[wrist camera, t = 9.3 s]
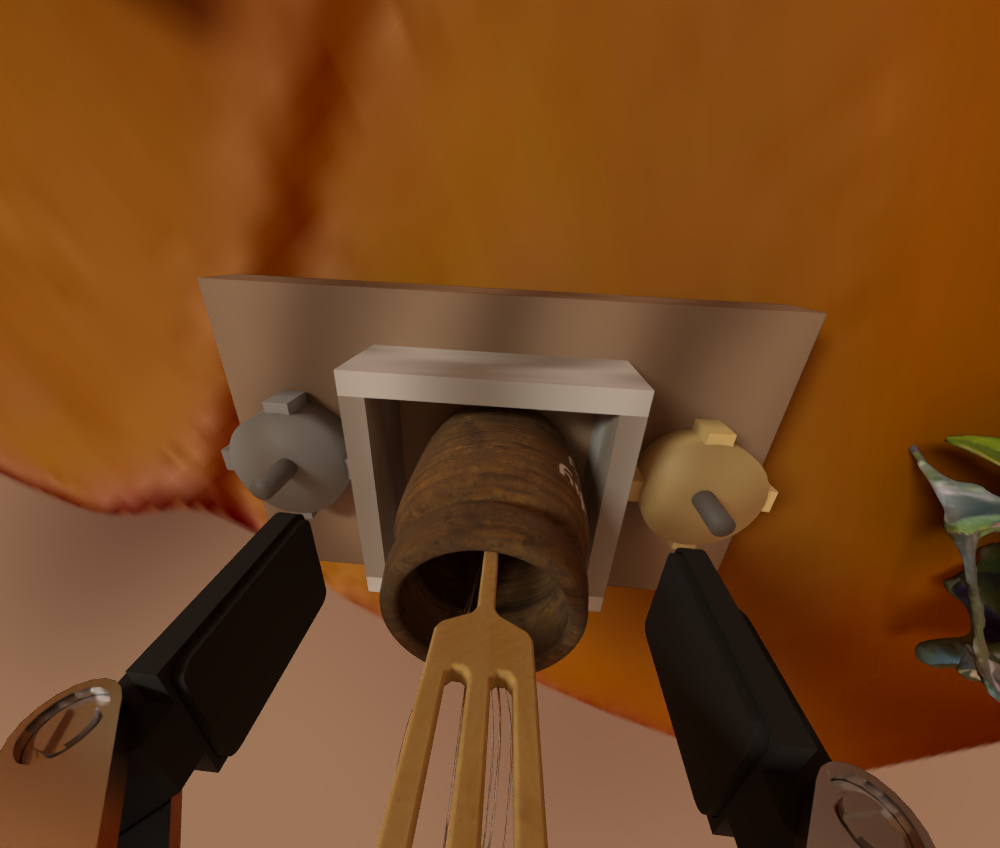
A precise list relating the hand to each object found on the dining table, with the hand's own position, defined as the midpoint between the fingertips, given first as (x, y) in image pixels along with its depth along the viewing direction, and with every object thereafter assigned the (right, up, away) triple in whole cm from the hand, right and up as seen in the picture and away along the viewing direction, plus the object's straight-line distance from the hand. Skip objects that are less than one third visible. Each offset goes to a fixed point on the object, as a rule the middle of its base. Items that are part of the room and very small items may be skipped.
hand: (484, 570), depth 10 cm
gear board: (0, +3, +7) cm, 8 cm away
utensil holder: (0, +3, +5) cm, 6 cm away
